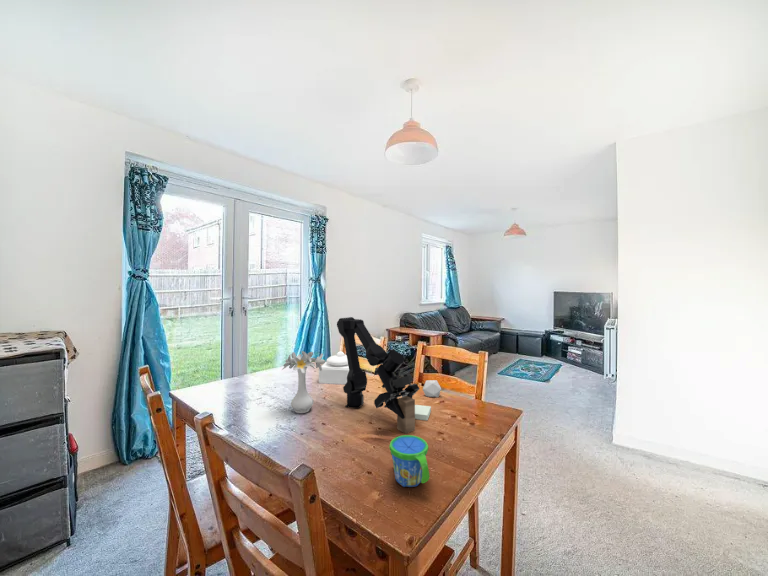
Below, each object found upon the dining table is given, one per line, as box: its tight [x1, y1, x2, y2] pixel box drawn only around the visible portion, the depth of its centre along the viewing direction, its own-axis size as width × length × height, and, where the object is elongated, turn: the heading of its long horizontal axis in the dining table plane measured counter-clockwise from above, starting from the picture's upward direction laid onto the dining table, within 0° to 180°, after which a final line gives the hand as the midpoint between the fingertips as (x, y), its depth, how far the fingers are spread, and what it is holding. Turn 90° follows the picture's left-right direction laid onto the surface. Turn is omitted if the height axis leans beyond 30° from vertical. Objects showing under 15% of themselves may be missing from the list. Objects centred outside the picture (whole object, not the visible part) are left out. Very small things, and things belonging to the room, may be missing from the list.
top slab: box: [415, 404, 432, 421], centre depth 127 cm, size 9×9×2 cm
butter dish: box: [318, 350, 349, 386], centre depth 177 cm, size 18×18×16 cm
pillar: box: [396, 396, 416, 435], centre depth 115 cm, size 4×4×12 cm
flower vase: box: [281, 350, 326, 414], centre depth 135 cm, size 13×18×25 cm
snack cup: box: [388, 434, 431, 488], centre depth 88 cm, size 16×10×10 cm
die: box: [422, 379, 442, 398], centre depth 149 cm, size 8×9×10 cm
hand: (408, 416), depth 113 cm, fingers closed on pillar, 4 cm apart
